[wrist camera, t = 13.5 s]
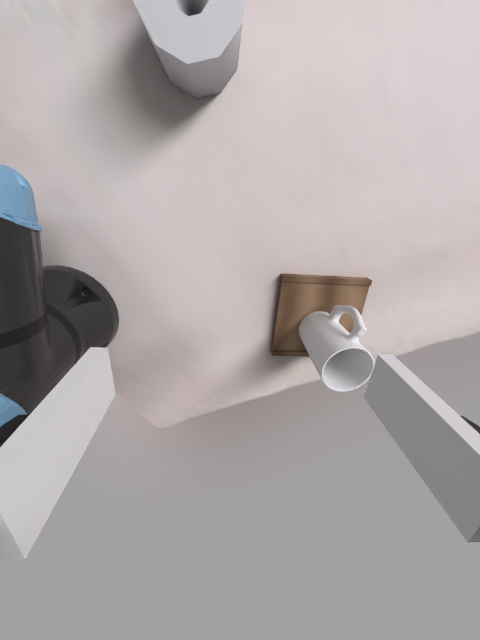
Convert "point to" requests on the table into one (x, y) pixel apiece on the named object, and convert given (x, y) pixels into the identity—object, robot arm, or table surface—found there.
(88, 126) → the table surface
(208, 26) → the toilet tissue
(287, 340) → the wooden coaster
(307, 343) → the mug
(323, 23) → the table surface
